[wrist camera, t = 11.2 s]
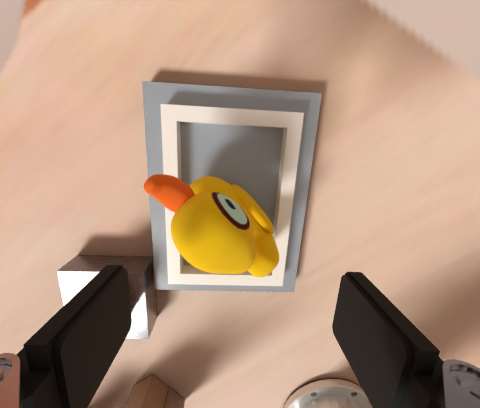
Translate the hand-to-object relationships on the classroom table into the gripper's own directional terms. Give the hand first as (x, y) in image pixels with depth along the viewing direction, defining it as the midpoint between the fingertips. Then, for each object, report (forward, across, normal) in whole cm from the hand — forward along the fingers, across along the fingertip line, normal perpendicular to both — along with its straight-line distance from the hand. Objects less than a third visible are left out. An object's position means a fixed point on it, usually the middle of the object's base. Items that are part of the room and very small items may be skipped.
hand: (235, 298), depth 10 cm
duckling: (+13, +1, -1) cm, 13 cm away
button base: (+14, +12, +10) cm, 21 cm away
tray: (+14, 0, -1) cm, 14 cm away
